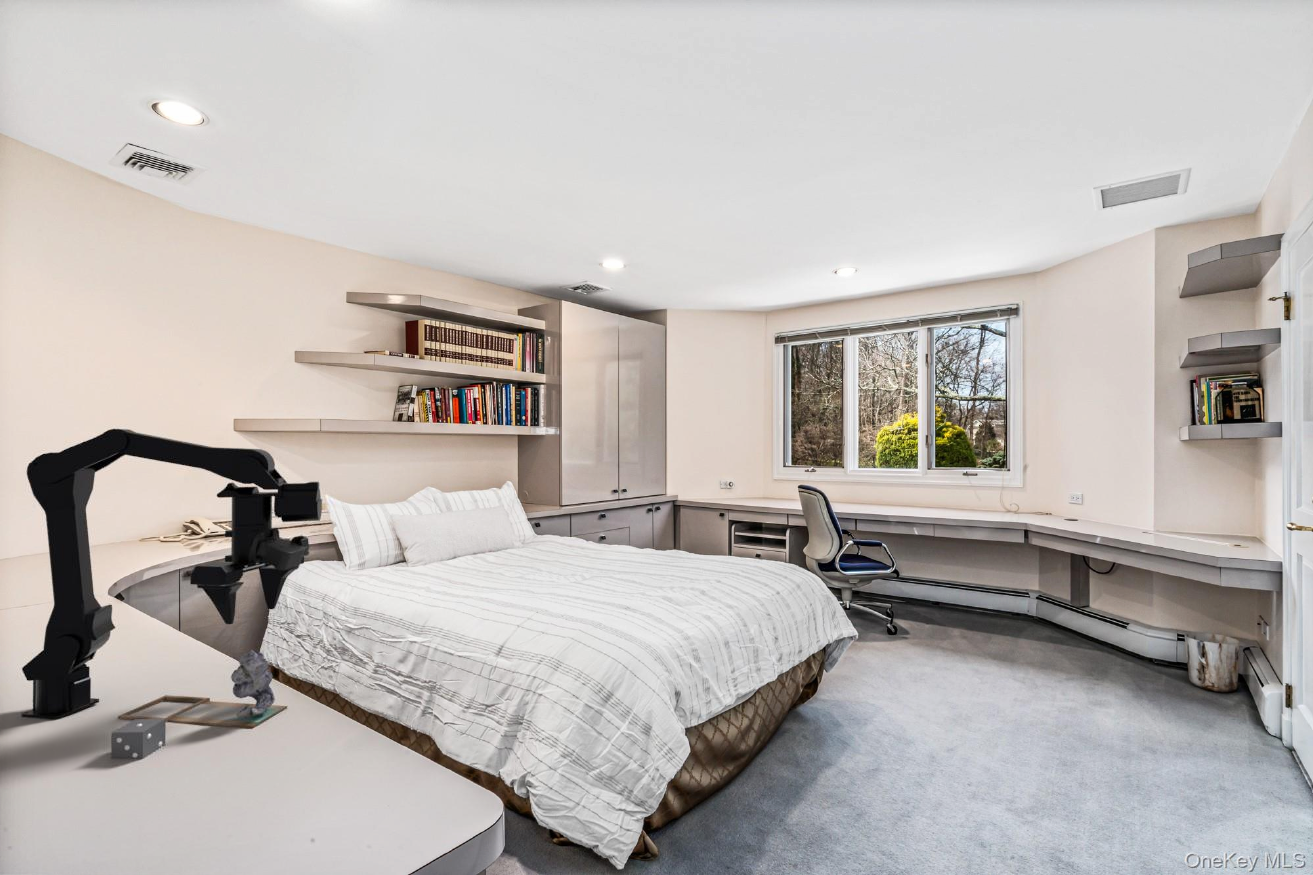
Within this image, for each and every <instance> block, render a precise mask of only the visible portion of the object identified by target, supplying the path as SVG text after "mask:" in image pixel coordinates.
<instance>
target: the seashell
mask: <svg viewBox="0 0 1313 875" xmlns="http://www.w3.org/2000/svg"><path fill="white" fill-rule="evenodd" d="M264 657H265V656H264V654H263V653H262V652H260V651H259V652H255V651H254V650H253V649H251V650H250V651H249V652H248V653H245V654H242V655H241V656H240V657H239V659H238V663H239V666H238V667H237V669H235V670H233V672H232V673H231V676H230V677H231V678H230V679H231V681H232V682H233V683H234V684H233V687H232V694H233V695H234V697H235V698H239V699H244V698H247V697H250V698H253V699H254V700H255V701H256V702H255V704H256V706H255V707H253V708H252V707H250V705H246V706H245V708H244V709H243V710H241V711H240V712H238V713H237V717H238V718H249V717H253V716H257V715H259V714H262V713H265V712H266V711H267V710H268V709H269V708H270V707H271V705H274V702H275V700H276V699H275V695H274V691H273V689H272V688H271V686H270V684H271V682H272V681H273V673H272V672H271V671H270V670H269V669H268V668H269V663H268V660H267V659H266V658H264Z"/></svg>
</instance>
